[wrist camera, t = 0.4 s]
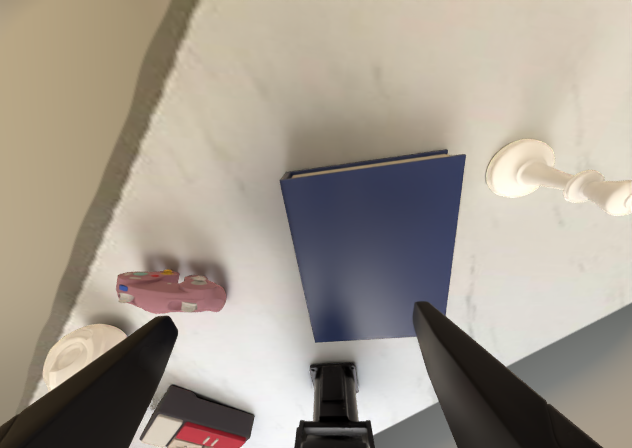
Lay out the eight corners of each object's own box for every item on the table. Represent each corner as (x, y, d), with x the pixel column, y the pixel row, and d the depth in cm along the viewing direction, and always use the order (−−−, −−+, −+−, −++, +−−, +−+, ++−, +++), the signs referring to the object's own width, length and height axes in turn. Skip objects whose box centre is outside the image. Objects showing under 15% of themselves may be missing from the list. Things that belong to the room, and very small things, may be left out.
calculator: (223, 467, 40) (134, 446, 36) (231, 435, 43) (152, 414, 40) (249, 443, 35) (153, 417, 32) (256, 411, 39) (170, 384, 36)
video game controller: (234, 270, 27) (208, 285, 20) (228, 307, 27) (200, 335, 20) (153, 258, 27) (98, 269, 20) (147, 296, 27) (90, 319, 20)
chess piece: (490, 204, 21) (615, 270, 12) (481, 155, 19) (620, 189, 10) (550, 181, 20) (738, 235, 11) (546, 127, 18) (768, 137, 9)
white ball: (132, 312, 29) (71, 373, 22) (153, 351, 32) (105, 415, 25) (75, 312, 30) (-2, 372, 23) (101, 350, 33) (40, 413, 26)
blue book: (431, 313, 27) (443, 335, 24) (316, 321, 28) (315, 342, 26) (446, 149, 19) (466, 154, 16) (285, 172, 20) (279, 180, 18)
